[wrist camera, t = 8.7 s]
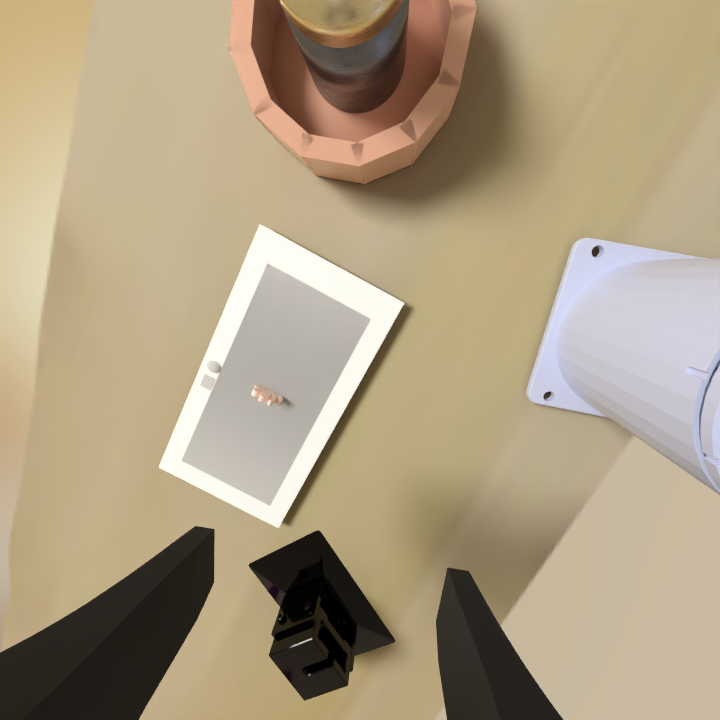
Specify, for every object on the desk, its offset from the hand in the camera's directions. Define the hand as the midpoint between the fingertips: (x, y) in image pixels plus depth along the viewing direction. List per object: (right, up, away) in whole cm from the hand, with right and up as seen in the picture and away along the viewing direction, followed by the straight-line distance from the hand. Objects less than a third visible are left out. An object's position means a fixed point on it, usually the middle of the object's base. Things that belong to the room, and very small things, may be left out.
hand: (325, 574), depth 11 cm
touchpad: (-4, +5, +10) cm, 11 cm away
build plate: (-1, -9, +13) cm, 16 cm away
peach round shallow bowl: (+1, +19, +5) cm, 20 cm away
